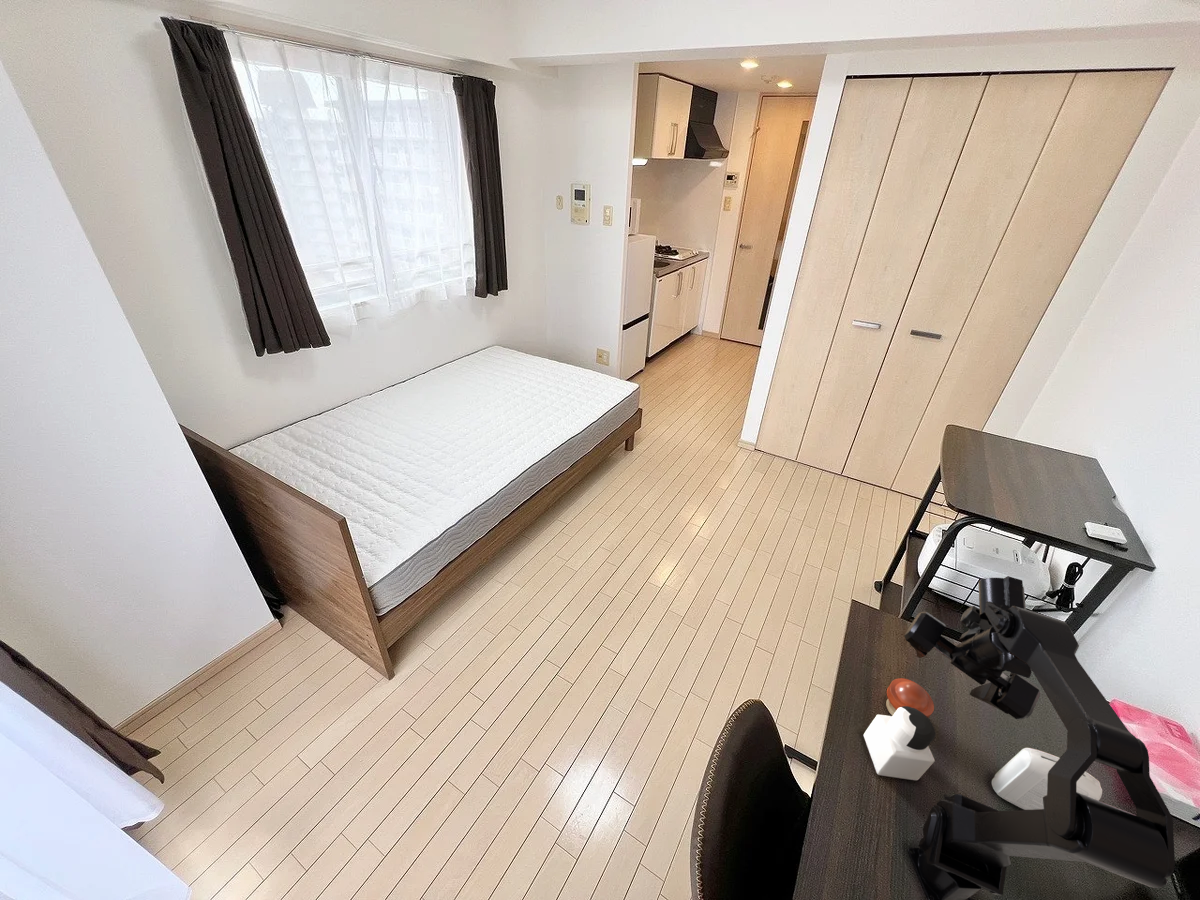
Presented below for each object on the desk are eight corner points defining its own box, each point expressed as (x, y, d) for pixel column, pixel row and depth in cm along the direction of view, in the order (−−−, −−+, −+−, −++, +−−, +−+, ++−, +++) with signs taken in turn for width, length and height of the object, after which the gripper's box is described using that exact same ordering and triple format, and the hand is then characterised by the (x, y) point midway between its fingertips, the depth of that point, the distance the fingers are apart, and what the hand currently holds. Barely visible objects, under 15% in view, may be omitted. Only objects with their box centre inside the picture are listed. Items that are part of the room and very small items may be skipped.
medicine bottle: (900, 739, 90) (928, 703, 84) (918, 781, 84) (949, 746, 78) (862, 734, 91) (887, 698, 84) (876, 775, 84) (904, 740, 78)
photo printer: (1059, 807, 82) (1105, 772, 76) (1065, 833, 79) (1113, 798, 73) (989, 772, 86) (1026, 736, 80) (992, 795, 83) (1031, 760, 77)
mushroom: (931, 731, 92) (948, 710, 88) (892, 729, 92) (908, 707, 88) (910, 693, 98) (925, 672, 95) (873, 691, 98) (887, 669, 94)
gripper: (1080, 655, 74) (1018, 677, 86) (953, 576, 83) (913, 606, 95) (1055, 713, 70) (993, 728, 82) (923, 623, 78) (886, 649, 91)
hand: (944, 673), depth 88 cm, fingers open, 9 cm apart
